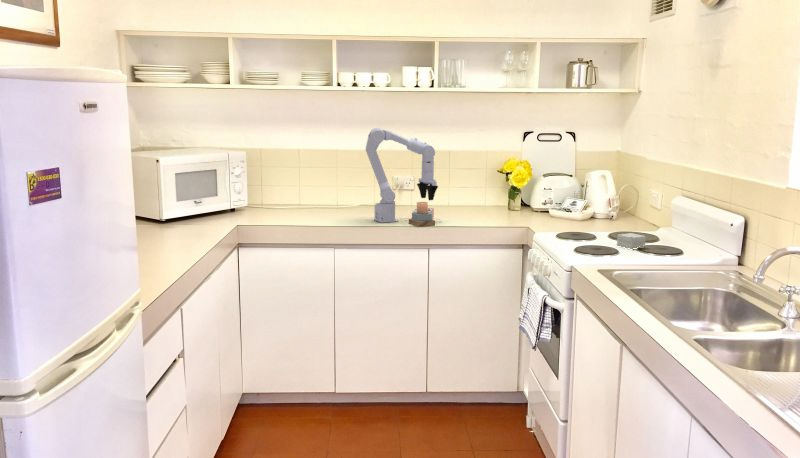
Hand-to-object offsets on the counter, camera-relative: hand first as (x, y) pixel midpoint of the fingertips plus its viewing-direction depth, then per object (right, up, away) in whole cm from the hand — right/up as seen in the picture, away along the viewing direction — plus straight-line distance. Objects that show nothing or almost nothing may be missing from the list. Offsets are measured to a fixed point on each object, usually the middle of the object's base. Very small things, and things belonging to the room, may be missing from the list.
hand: (427, 199), depth 323 cm
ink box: (0, -6, +10) cm, 11 cm away
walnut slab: (-3, -13, -9) cm, 16 cm away
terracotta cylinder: (-3, -7, -11) cm, 13 cm away
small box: (+79, -22, -53) cm, 98 cm away
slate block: (-3, -10, -10) cm, 14 cm away
